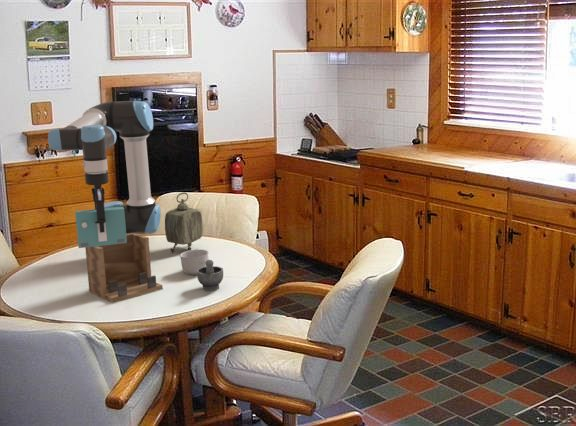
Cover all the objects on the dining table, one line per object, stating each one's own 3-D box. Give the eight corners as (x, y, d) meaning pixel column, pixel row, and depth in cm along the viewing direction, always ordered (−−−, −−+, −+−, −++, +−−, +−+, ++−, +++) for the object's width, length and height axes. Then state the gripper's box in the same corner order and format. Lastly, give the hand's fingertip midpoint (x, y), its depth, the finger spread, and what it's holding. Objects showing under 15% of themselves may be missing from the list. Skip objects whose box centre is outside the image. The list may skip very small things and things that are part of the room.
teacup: (204, 277, 285) (203, 257, 283) (177, 276, 287) (175, 256, 285) (215, 266, 298) (214, 247, 296) (189, 265, 300) (187, 246, 298)
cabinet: (89, 291, 272) (84, 243, 268) (137, 278, 285) (133, 232, 281) (113, 302, 259) (109, 252, 255) (162, 288, 273) (159, 240, 269)
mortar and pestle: (197, 284, 276) (196, 253, 274) (223, 283, 277) (222, 251, 274) (197, 294, 265) (195, 262, 263) (224, 293, 266) (222, 260, 264)
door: (78, 245, 257) (74, 211, 254) (125, 240, 262) (123, 206, 259) (79, 249, 252) (75, 214, 249) (127, 243, 257) (124, 209, 254)
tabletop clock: (189, 244, 330) (186, 188, 325) (205, 247, 325) (202, 190, 320) (166, 252, 319) (162, 194, 313) (182, 255, 314) (178, 197, 308)
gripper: (83, 168, 258) (89, 234, 264) (86, 177, 243) (92, 247, 248) (105, 166, 260) (111, 232, 266) (110, 175, 245) (115, 244, 251)
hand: (102, 239), depth 257 cm, fingers closed on door, 3 cm apart
